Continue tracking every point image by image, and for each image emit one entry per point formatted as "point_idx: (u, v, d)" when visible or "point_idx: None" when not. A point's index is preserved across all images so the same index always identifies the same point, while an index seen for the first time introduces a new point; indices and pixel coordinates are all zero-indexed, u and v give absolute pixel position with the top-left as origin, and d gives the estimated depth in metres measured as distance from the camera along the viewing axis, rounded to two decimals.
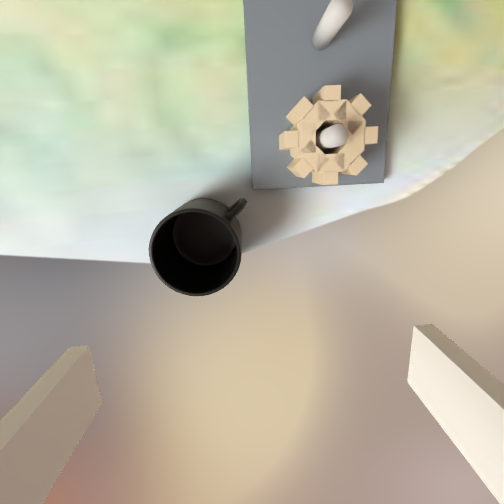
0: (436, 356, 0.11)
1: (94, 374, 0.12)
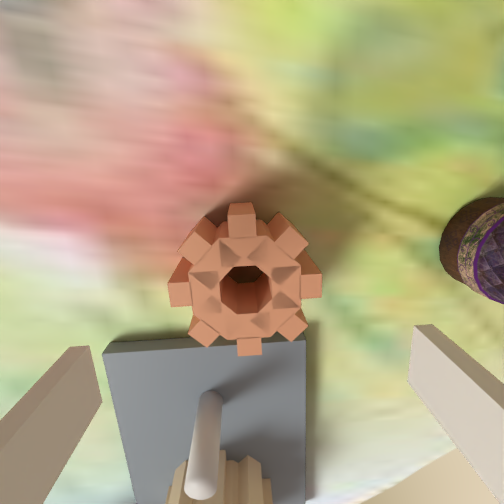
0: (436, 356, 0.11)
1: (94, 374, 0.12)
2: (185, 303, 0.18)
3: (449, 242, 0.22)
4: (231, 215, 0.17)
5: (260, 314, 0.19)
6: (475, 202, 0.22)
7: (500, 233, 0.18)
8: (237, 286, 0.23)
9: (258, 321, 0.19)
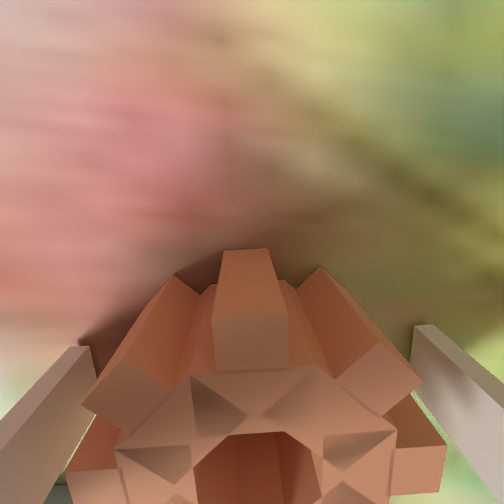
0: (436, 356, 0.11)
1: (94, 374, 0.12)
2: None
3: None
4: (222, 316, 0.06)
5: None
6: None
7: None
8: None
9: None
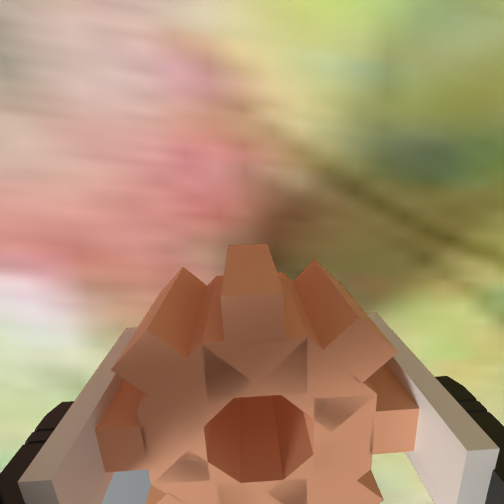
0: None
1: None
2: (134, 465, 0.09)
3: None
4: (229, 295, 0.08)
5: (288, 481, 0.09)
6: None
7: None
8: None
9: (284, 494, 0.09)
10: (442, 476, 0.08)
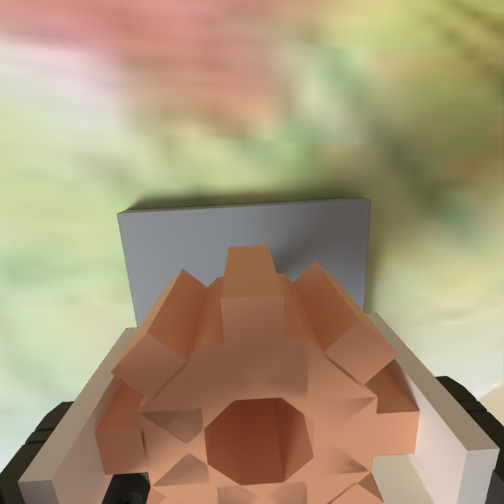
0: None
1: None
2: (134, 468, 0.09)
3: None
4: (229, 297, 0.08)
5: (288, 484, 0.09)
6: None
7: None
8: None
9: (284, 496, 0.09)
10: (442, 476, 0.08)
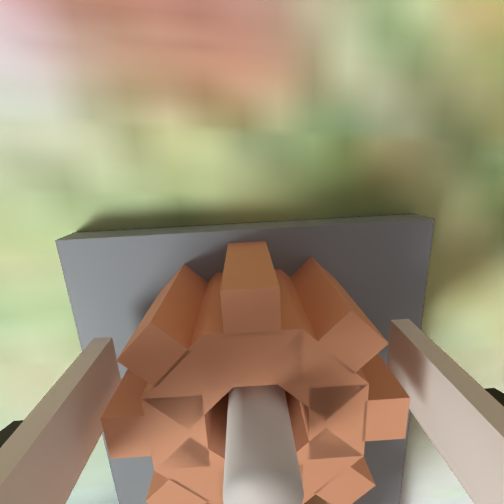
0: (409, 349, 0.11)
1: (116, 364, 0.13)
2: (138, 452, 0.09)
3: None
4: (228, 289, 0.08)
5: None
6: None
7: None
8: None
9: None
10: (503, 501, 0.07)
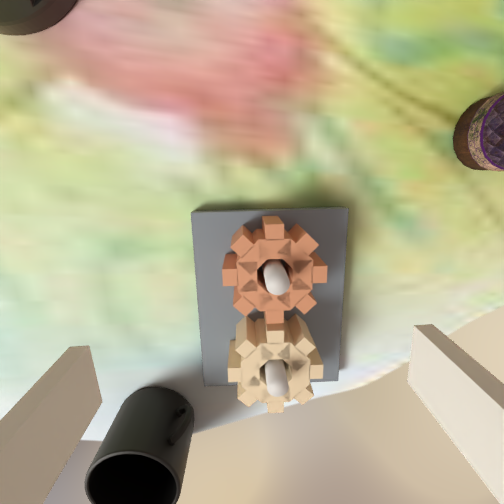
0: (436, 356, 0.11)
1: (94, 374, 0.12)
2: (233, 284, 0.27)
3: (461, 129, 0.29)
4: (268, 224, 0.26)
5: (284, 293, 0.27)
6: None
7: (500, 105, 0.25)
8: None
9: (282, 298, 0.27)
10: None
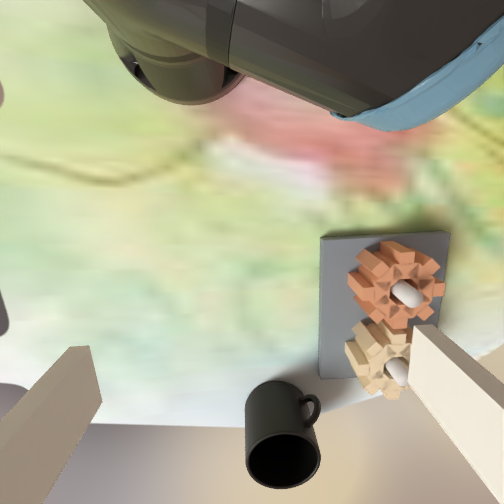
0: (436, 356, 0.11)
1: (94, 374, 0.12)
2: (370, 298, 0.34)
3: None
4: (402, 252, 0.33)
5: None
6: None
7: None
8: None
9: (407, 309, 0.35)
10: None
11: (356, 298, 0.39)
